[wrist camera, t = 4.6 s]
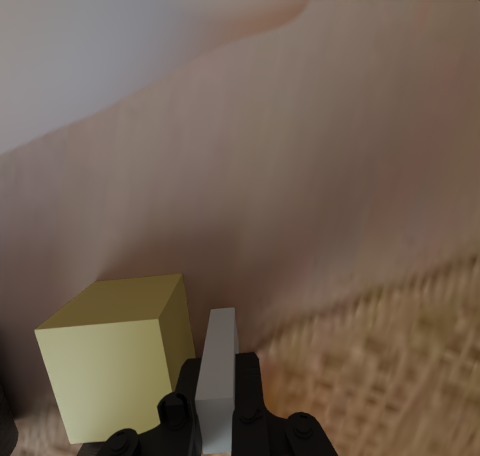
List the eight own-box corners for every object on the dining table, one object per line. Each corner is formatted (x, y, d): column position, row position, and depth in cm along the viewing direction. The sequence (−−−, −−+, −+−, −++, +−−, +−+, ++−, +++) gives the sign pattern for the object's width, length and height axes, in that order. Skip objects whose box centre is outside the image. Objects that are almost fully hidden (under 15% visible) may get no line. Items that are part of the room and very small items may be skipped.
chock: (182, 272, 18) (158, 318, 12) (196, 360, 19) (180, 435, 14) (95, 280, 18) (33, 330, 12) (116, 367, 19) (70, 443, 14)
